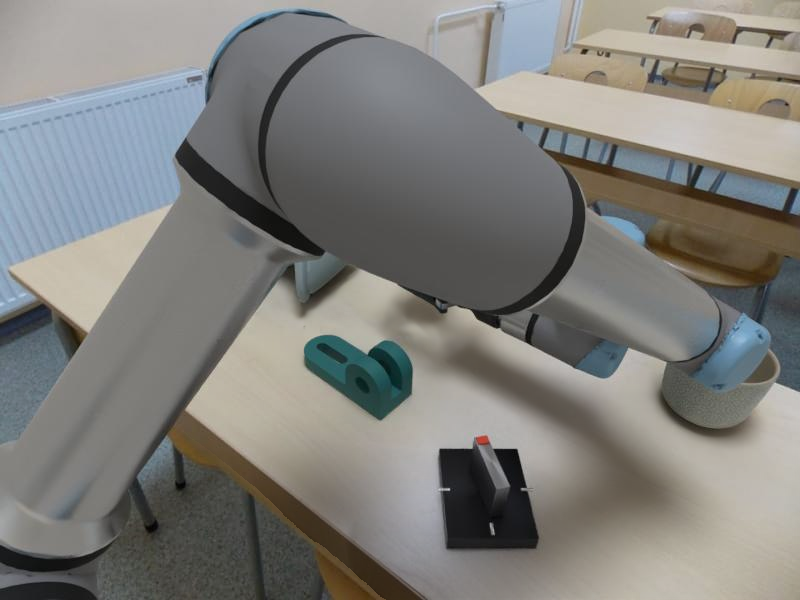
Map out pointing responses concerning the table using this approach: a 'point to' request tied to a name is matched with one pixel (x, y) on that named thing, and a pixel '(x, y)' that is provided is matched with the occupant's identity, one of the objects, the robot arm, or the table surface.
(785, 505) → the table surface
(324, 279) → the grey-blue hollow shell part
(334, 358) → the bracket
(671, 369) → the planter
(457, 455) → the panel
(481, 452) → the knob
